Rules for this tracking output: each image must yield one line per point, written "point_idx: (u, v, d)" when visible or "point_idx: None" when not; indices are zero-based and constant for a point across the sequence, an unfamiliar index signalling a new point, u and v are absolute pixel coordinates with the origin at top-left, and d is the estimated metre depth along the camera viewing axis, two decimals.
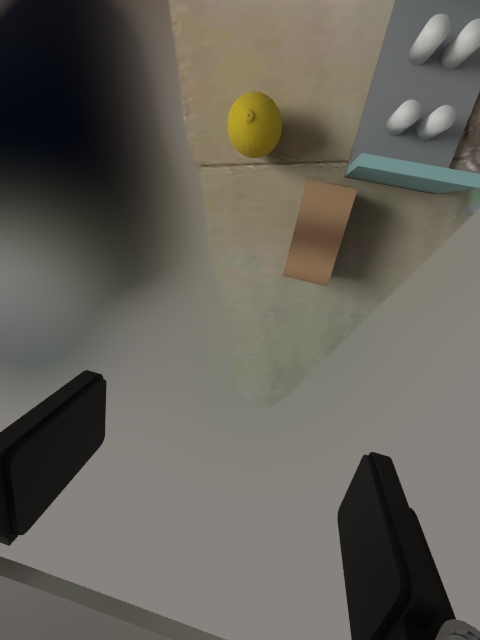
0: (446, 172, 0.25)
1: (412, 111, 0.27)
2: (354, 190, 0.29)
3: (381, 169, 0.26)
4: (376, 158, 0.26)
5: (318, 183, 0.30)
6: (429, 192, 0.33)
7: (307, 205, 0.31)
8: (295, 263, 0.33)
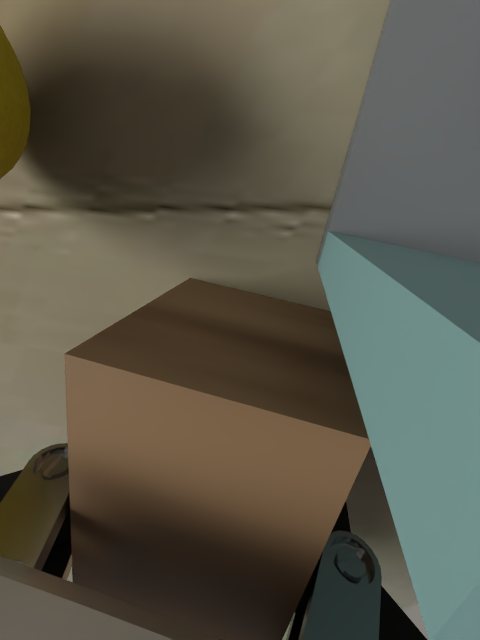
0: None
1: None
2: (352, 443, 0.04)
3: None
4: None
5: (130, 381, 0.05)
6: None
7: (99, 471, 0.06)
8: None
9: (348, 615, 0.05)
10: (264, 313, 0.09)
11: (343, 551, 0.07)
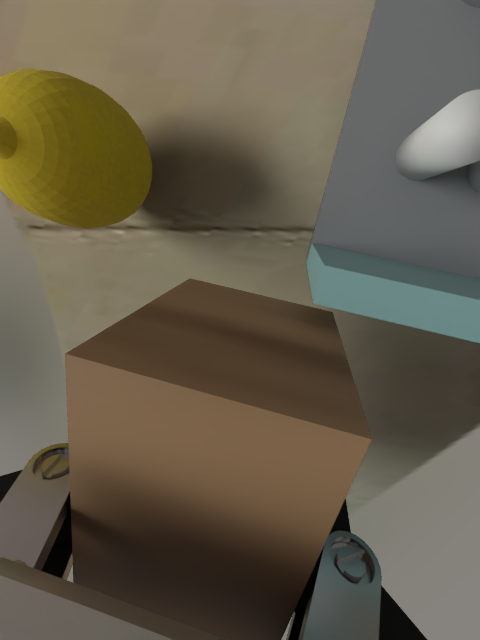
0: None
1: None
2: (350, 442, 0.04)
3: (392, 319, 0.08)
4: (375, 285, 0.07)
5: (130, 381, 0.05)
6: None
7: (99, 470, 0.06)
8: None
9: (348, 615, 0.05)
10: (264, 313, 0.09)
11: (343, 551, 0.07)
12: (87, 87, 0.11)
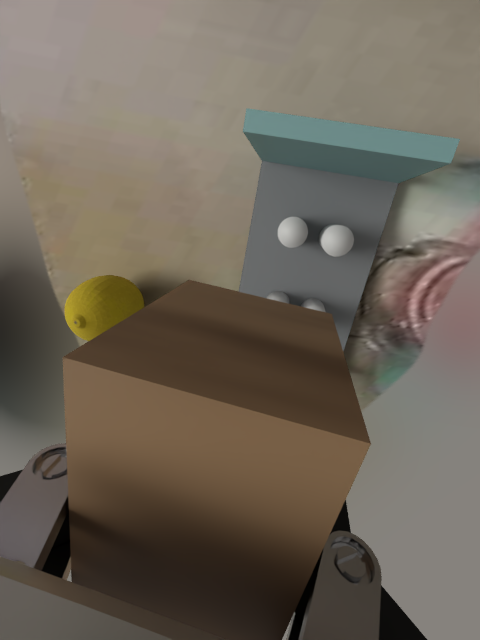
0: None
1: None
2: (349, 447, 0.04)
3: None
4: None
5: (128, 384, 0.05)
6: None
7: (98, 473, 0.06)
8: None
9: (348, 615, 0.05)
10: (263, 315, 0.09)
11: (343, 551, 0.07)
12: (113, 287, 0.24)
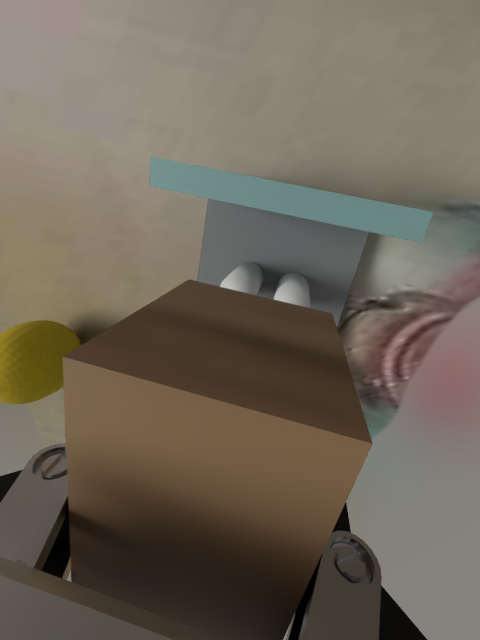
0: None
1: None
2: (351, 447, 0.04)
3: None
4: None
5: (128, 384, 0.05)
6: None
7: (97, 473, 0.06)
8: None
9: (348, 615, 0.05)
10: (264, 314, 0.09)
11: (343, 551, 0.07)
12: (34, 342, 0.20)
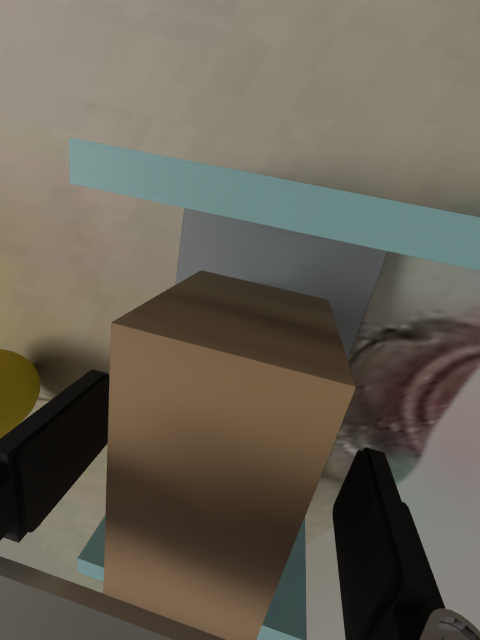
0: None
1: None
2: (339, 390, 0.06)
3: None
4: None
5: (164, 344, 0.06)
6: None
7: (134, 422, 0.07)
8: (132, 579, 0.09)
9: None
10: (268, 299, 0.10)
11: (453, 637, 0.06)
12: None
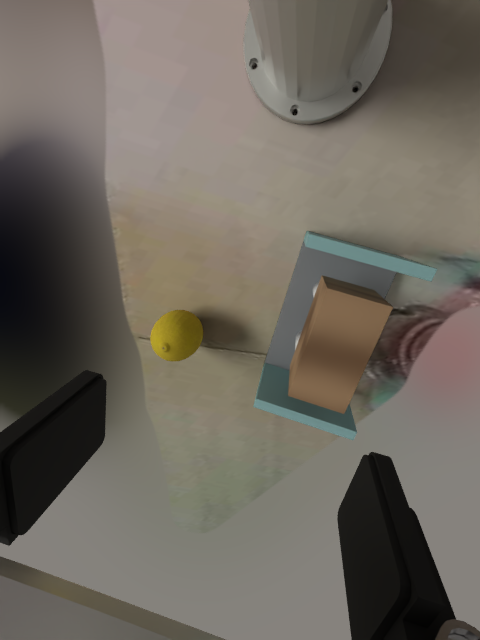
0: (325, 424, 0.29)
1: None
2: (388, 308, 0.22)
3: (272, 412, 0.29)
4: (268, 404, 0.29)
5: (341, 294, 0.23)
6: None
7: (325, 319, 0.23)
8: (304, 384, 0.26)
9: None
10: (354, 287, 0.26)
11: None
12: (187, 322, 0.32)
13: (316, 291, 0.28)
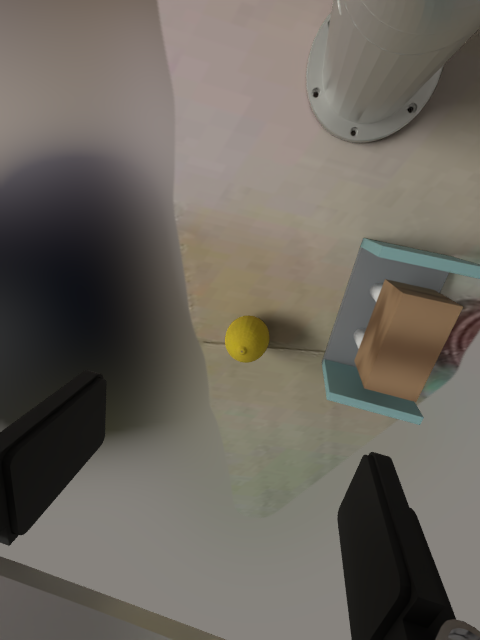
0: (394, 412, 0.32)
1: None
2: (459, 307, 0.26)
3: (345, 403, 0.33)
4: (340, 396, 0.33)
5: (416, 298, 0.26)
6: None
7: (400, 320, 0.27)
8: (379, 377, 0.29)
9: None
10: (419, 289, 0.30)
11: None
12: (259, 327, 0.36)
13: (380, 293, 0.32)
